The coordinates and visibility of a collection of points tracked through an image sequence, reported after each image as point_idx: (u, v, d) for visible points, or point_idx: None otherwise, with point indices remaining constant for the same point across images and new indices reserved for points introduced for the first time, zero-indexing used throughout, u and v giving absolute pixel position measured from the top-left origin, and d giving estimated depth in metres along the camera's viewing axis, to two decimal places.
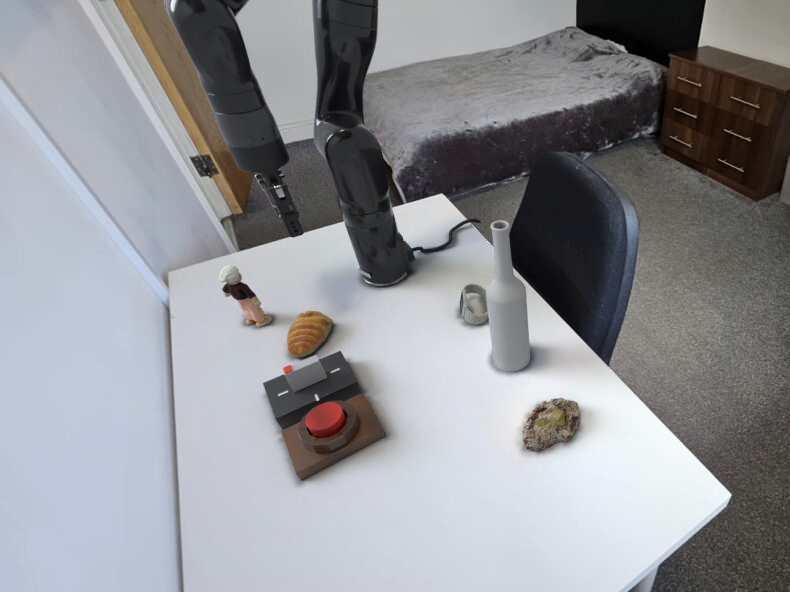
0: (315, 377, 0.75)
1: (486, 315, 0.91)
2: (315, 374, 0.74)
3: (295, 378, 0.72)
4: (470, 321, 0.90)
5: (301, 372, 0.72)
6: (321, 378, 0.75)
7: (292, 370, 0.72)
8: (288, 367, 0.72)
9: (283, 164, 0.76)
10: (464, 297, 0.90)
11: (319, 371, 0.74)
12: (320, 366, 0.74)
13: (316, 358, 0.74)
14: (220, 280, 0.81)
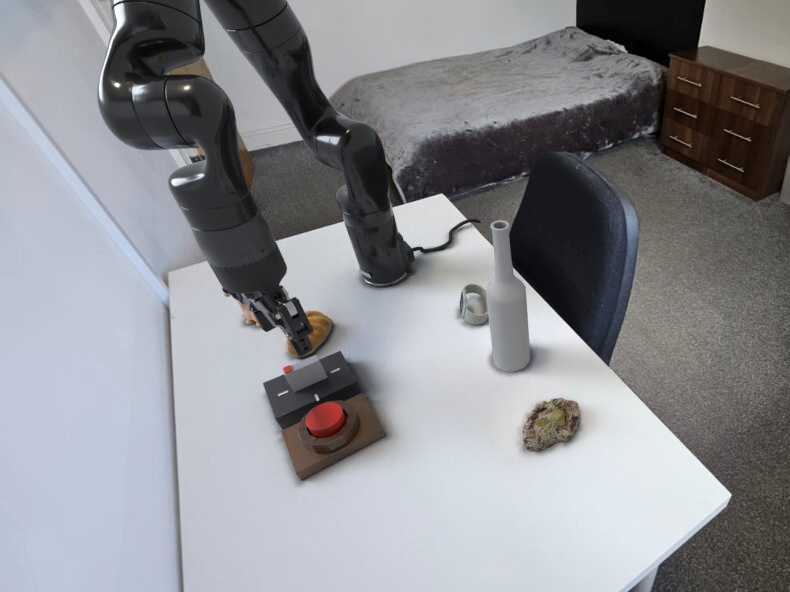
0: (315, 377, 0.75)
1: (486, 315, 0.91)
2: (315, 374, 0.74)
3: (295, 378, 0.72)
4: (470, 321, 0.90)
5: (301, 372, 0.72)
6: (321, 378, 0.75)
7: (292, 370, 0.72)
8: (288, 367, 0.72)
9: (284, 274, 0.61)
10: (464, 297, 0.90)
11: (319, 371, 0.74)
12: (320, 366, 0.74)
13: (316, 358, 0.74)
14: None
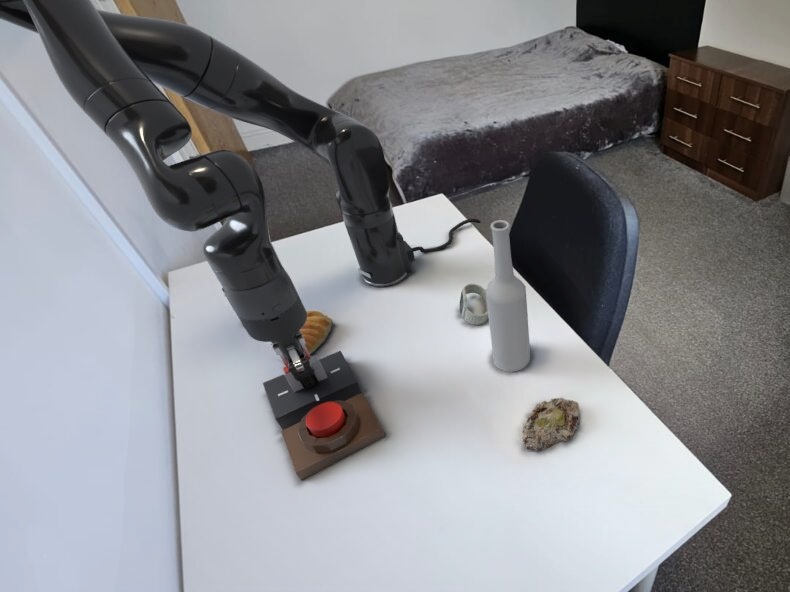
0: None
1: (486, 315, 0.91)
2: (315, 374, 0.74)
3: None
4: (470, 321, 0.90)
5: None
6: (321, 378, 0.75)
7: None
8: None
9: None
10: (464, 297, 0.90)
11: (319, 371, 0.74)
12: (320, 366, 0.74)
13: (316, 358, 0.74)
14: None
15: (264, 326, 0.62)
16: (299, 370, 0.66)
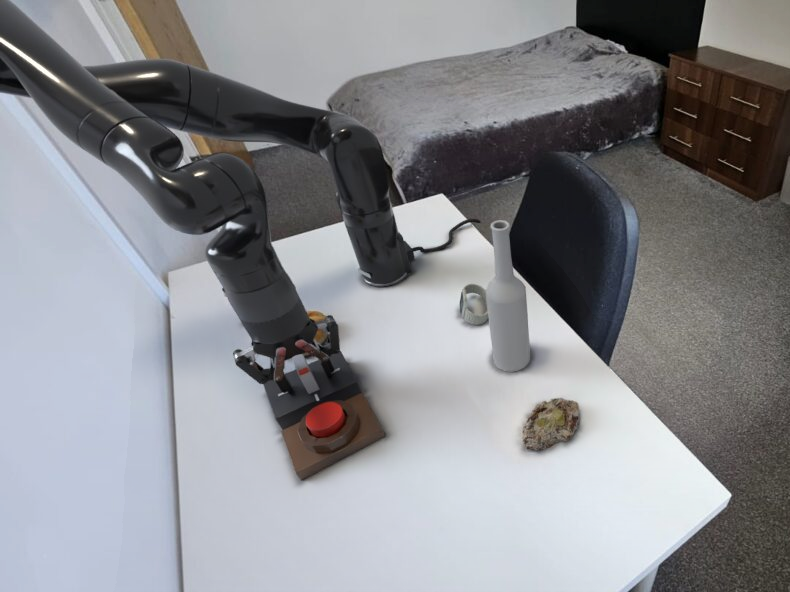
0: (311, 371, 0.76)
1: (486, 315, 0.91)
2: (309, 367, 0.75)
3: None
4: (470, 321, 0.90)
5: (309, 367, 0.73)
6: (311, 371, 0.76)
7: (306, 368, 0.72)
8: (301, 370, 0.71)
9: (259, 342, 0.64)
10: (464, 297, 0.90)
11: (307, 364, 0.75)
12: None
13: (297, 355, 0.74)
14: None
15: (301, 306, 0.66)
16: None
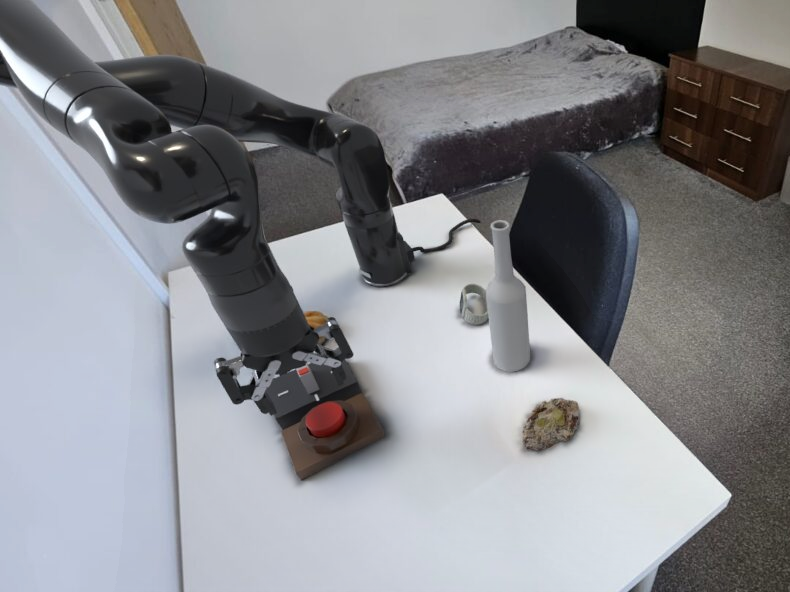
0: (311, 371, 0.76)
1: (486, 315, 0.91)
2: (309, 367, 0.75)
3: None
4: (470, 321, 0.90)
5: (309, 367, 0.73)
6: (311, 371, 0.76)
7: (306, 368, 0.72)
8: (301, 370, 0.71)
9: (249, 354, 0.54)
10: (464, 297, 0.90)
11: (307, 364, 0.75)
12: None
13: None
14: None
15: (299, 312, 0.56)
16: None
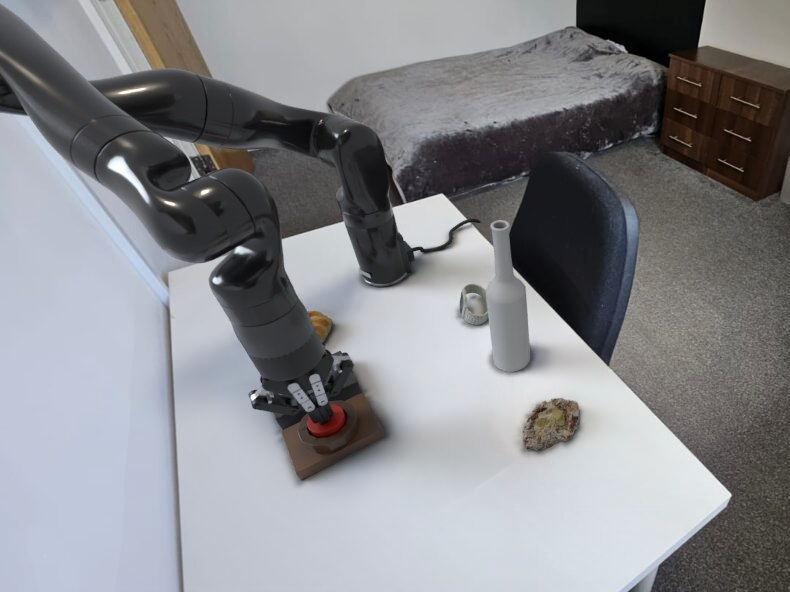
0: None
1: (486, 315, 0.91)
2: None
3: None
4: (470, 321, 0.90)
5: None
6: None
7: None
8: None
9: (269, 379, 0.57)
10: (464, 297, 0.90)
11: None
12: None
13: None
14: None
15: (316, 337, 0.59)
16: None
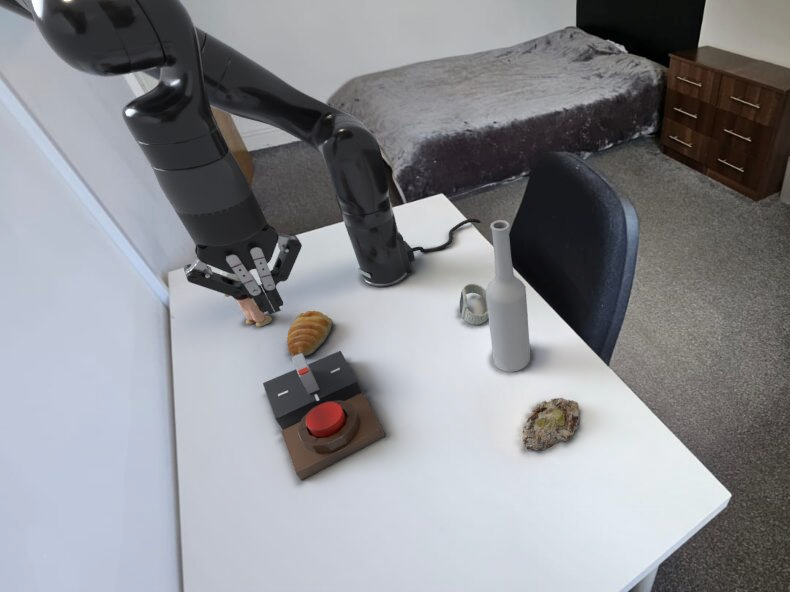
0: (311, 371, 0.76)
1: (486, 315, 0.91)
2: (309, 367, 0.75)
3: None
4: (470, 321, 0.90)
5: (309, 367, 0.73)
6: (311, 371, 0.76)
7: (306, 368, 0.72)
8: (301, 370, 0.71)
9: (203, 244, 0.52)
10: (464, 297, 0.90)
11: (307, 364, 0.75)
12: None
13: (297, 355, 0.74)
14: None
15: (255, 202, 0.54)
16: None
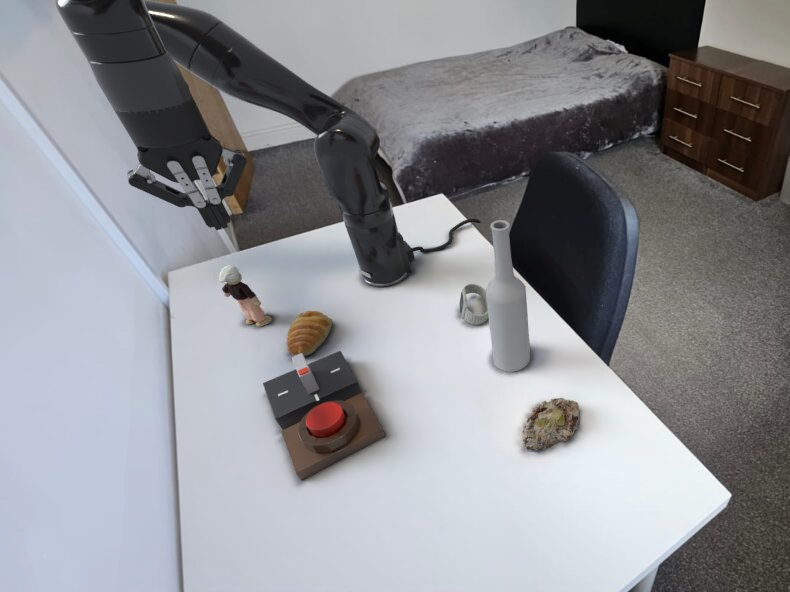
0: (311, 371, 0.76)
1: (486, 315, 0.91)
2: (309, 367, 0.75)
3: None
4: (470, 321, 0.90)
5: (309, 367, 0.73)
6: (311, 371, 0.76)
7: (306, 368, 0.72)
8: (301, 370, 0.71)
9: (142, 145, 0.54)
10: (464, 297, 0.90)
11: (307, 364, 0.75)
12: None
13: (297, 355, 0.74)
14: (220, 280, 0.81)
15: (195, 109, 0.56)
16: None
